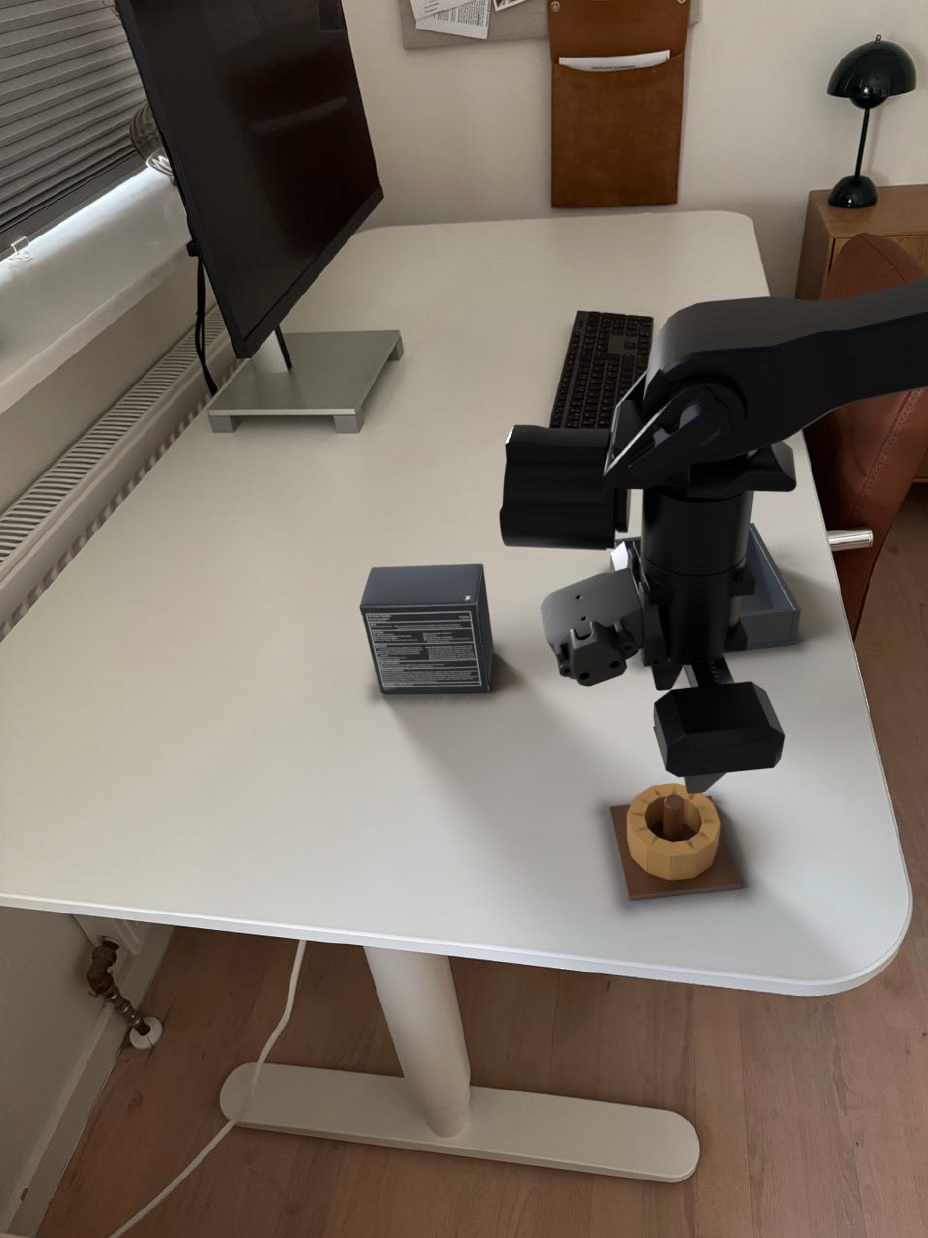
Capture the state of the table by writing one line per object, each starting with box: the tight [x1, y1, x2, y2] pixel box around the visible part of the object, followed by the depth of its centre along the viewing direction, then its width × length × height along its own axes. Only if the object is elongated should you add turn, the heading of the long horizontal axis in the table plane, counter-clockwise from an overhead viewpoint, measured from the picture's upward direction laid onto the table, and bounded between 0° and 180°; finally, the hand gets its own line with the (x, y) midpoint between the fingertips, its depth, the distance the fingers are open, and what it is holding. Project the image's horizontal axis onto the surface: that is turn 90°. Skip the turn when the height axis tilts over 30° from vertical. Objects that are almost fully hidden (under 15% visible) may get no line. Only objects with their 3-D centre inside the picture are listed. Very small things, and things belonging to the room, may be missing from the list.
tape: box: [627, 782, 722, 881], centre depth 65 cm, size 6×6×3 cm
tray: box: [613, 522, 802, 663], centre depth 86 cm, size 14×14×4 cm
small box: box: [358, 563, 495, 694], centre depth 81 cm, size 11×6×10 cm, turn 84°
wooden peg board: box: [608, 794, 742, 901], centre depth 65 cm, size 8×8×6 cm
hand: (678, 737), depth 59 cm, fingers open, 9 cm apart
